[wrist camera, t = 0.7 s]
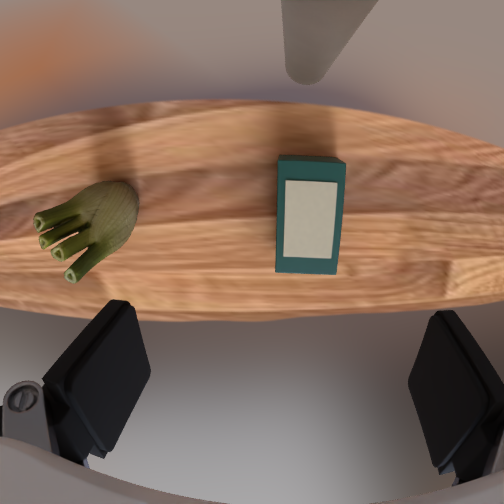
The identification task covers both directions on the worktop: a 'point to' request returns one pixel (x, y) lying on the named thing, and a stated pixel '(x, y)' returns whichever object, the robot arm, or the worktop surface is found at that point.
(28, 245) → the worktop surface
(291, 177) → the tea packet
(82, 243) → the fennel bulb
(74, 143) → the worktop surface
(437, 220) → the worktop surface
